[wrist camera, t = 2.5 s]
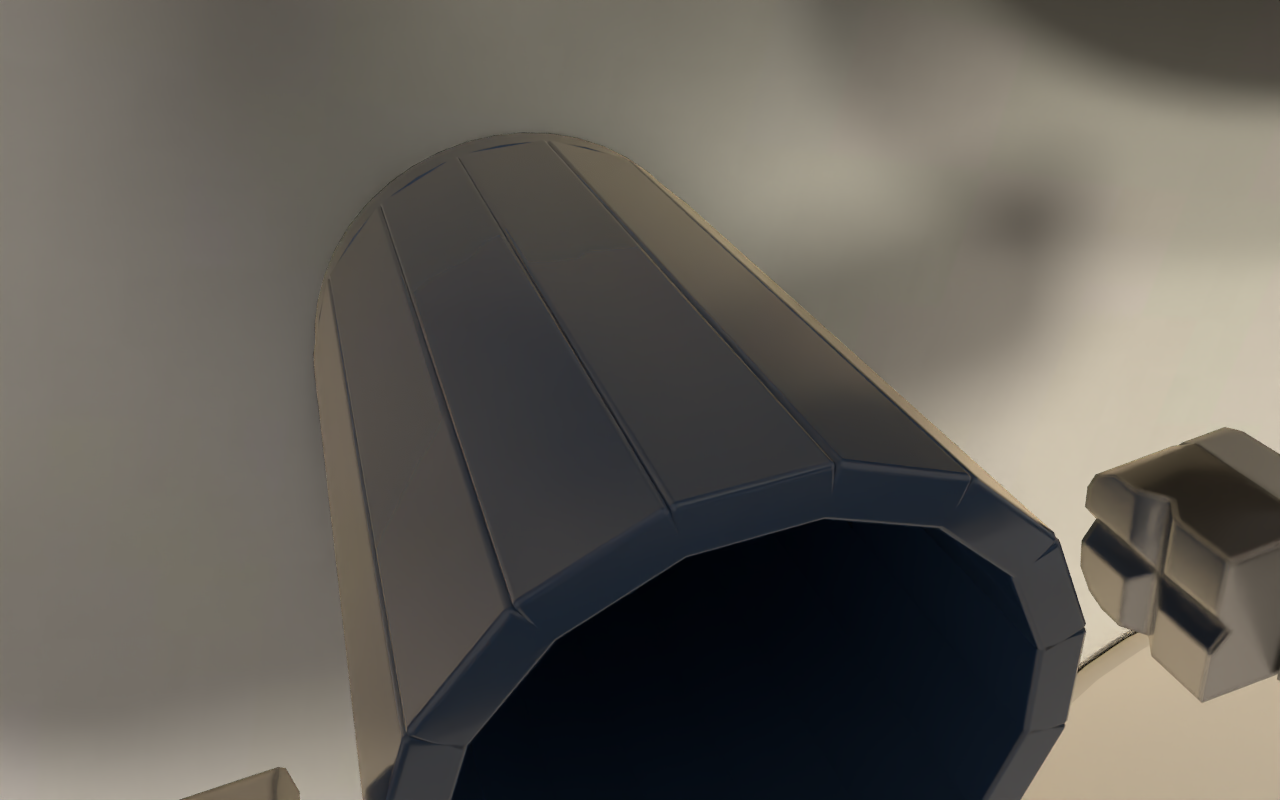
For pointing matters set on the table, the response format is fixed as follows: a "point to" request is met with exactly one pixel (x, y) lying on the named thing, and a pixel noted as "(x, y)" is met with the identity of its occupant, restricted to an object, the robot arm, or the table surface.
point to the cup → (653, 516)
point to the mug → (1161, 737)
